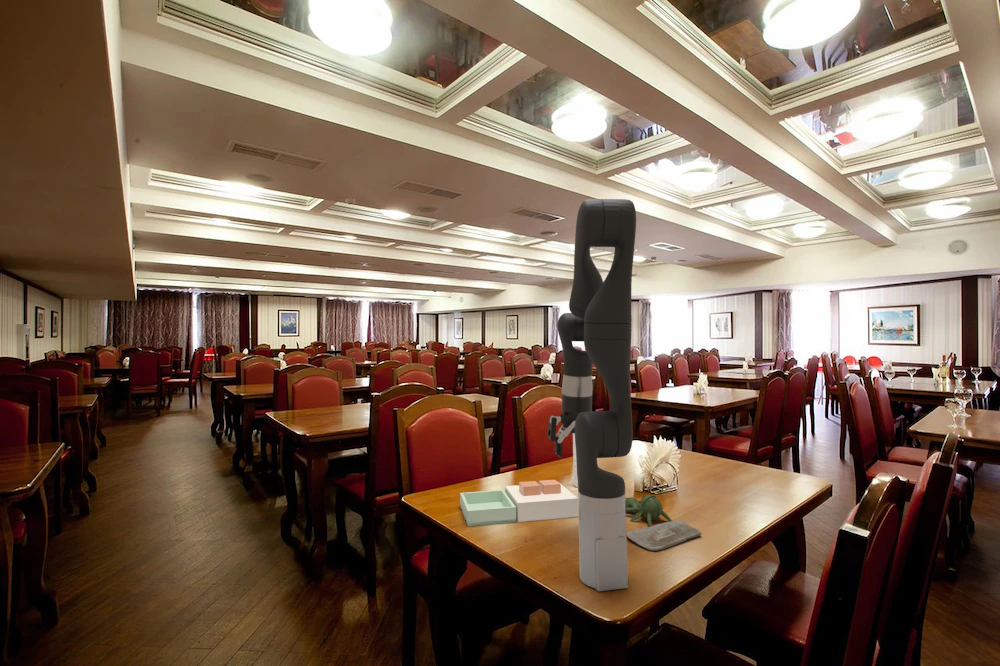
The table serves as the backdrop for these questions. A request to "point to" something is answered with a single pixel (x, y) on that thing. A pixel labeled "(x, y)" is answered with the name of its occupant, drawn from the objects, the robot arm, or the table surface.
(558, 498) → the raised plate
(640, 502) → the figurine
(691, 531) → the stone
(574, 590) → the table surface
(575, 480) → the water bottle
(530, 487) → the tile
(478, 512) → the box
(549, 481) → the tile
